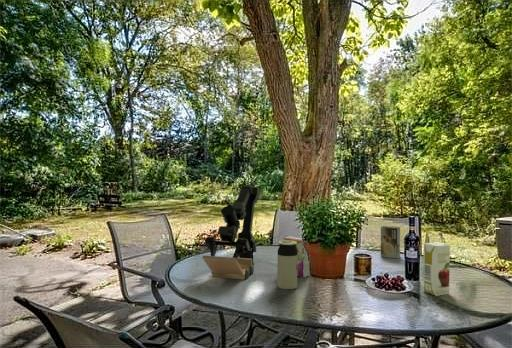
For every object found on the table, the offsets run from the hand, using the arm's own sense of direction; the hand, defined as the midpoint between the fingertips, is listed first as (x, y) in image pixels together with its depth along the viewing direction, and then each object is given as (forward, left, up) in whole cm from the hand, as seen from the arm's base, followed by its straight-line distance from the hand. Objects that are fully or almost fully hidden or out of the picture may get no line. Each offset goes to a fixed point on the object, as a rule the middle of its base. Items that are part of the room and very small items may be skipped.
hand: (221, 260), depth 156 cm
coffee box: (-96, -31, -9) cm, 101 cm away
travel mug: (-25, +10, -9) cm, 28 cm away
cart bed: (-6, -12, -9) cm, 17 cm away
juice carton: (-79, +28, -9) cm, 84 cm away
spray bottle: (-34, -6, -9) cm, 36 cm away
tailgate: (-3, -6, -7) cm, 10 cm away
